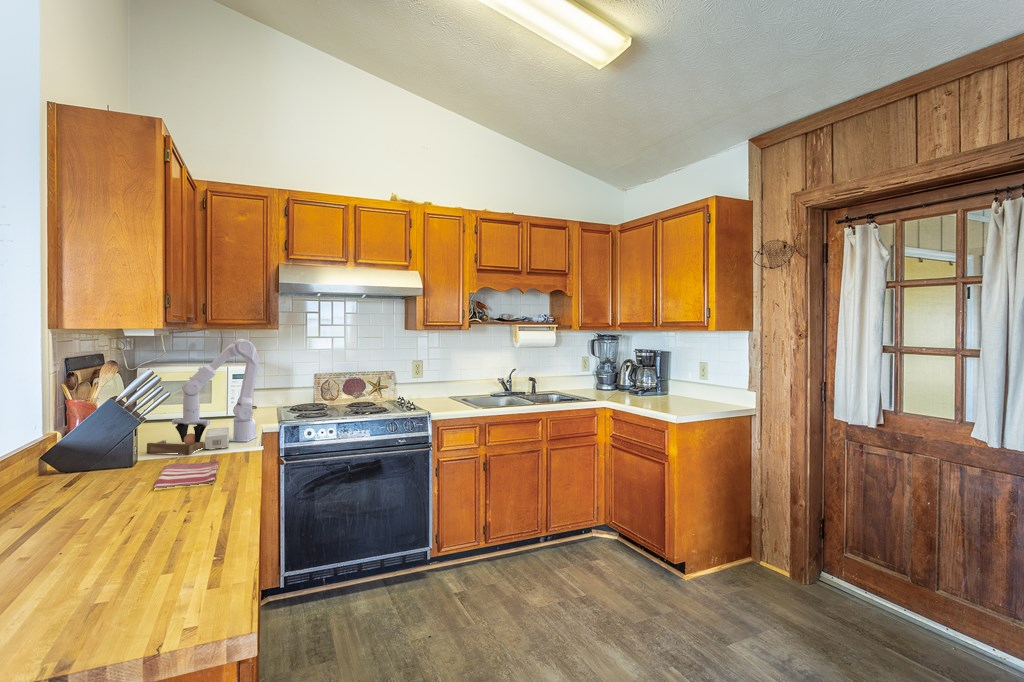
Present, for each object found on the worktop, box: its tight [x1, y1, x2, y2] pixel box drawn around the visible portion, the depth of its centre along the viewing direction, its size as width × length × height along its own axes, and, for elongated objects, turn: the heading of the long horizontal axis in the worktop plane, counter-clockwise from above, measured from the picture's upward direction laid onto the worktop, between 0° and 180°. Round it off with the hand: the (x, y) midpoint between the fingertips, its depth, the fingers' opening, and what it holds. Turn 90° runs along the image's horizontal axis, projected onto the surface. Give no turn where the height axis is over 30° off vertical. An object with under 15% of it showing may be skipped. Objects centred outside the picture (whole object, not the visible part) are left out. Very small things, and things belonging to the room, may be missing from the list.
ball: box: [183, 432, 196, 445], centre depth 207 cm, size 5×5×5 cm
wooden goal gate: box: [146, 439, 204, 456], centre depth 198 cm, size 9×17×4 cm, turn 90°
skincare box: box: [204, 426, 230, 450], centre depth 209 cm, size 8×6×15 cm
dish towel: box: [153, 460, 220, 489], centre depth 169 cm, size 17×23×3 cm
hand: (191, 442), depth 208 cm, fingers closed on ball, 5 cm apart
